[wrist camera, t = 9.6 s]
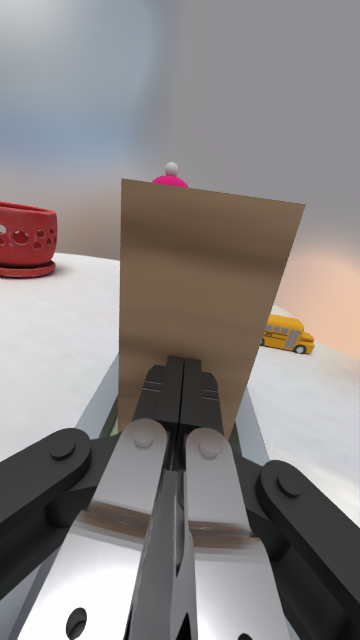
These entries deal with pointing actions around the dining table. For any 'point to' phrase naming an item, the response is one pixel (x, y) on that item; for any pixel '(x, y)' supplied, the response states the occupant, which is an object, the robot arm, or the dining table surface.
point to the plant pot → (27, 240)
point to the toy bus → (287, 335)
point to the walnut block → (197, 284)
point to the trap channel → (97, 421)
